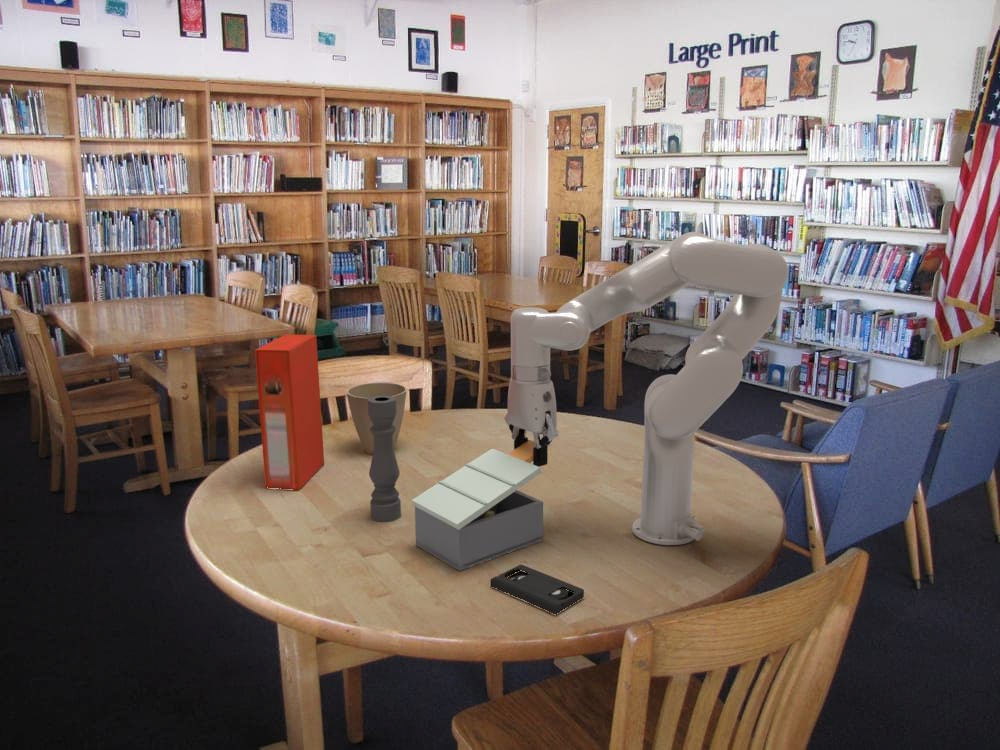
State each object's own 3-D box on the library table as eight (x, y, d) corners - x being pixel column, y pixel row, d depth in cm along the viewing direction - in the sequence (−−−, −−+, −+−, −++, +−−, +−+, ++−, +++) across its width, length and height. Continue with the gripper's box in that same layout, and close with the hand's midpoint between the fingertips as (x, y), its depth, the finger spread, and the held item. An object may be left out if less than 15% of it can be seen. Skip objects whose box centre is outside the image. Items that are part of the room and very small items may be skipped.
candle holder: (405, 511, 178) (402, 396, 172) (394, 523, 172) (390, 404, 166) (378, 508, 179) (373, 394, 173) (365, 520, 173) (361, 402, 167)
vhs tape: (584, 600, 142) (585, 589, 142) (555, 618, 136) (555, 607, 136) (520, 574, 152) (520, 563, 151) (490, 589, 146) (490, 579, 145)
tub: (542, 540, 164) (543, 501, 162) (459, 571, 151) (459, 529, 150) (497, 518, 174) (496, 481, 172) (415, 544, 162) (414, 505, 160)
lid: (563, 457, 163) (562, 450, 162) (459, 529, 149) (456, 522, 149) (515, 439, 174) (513, 433, 173) (413, 505, 160) (411, 498, 159)
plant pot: (355, 440, 224) (353, 382, 220) (412, 441, 223) (410, 382, 219) (343, 459, 209) (340, 397, 205) (403, 460, 209) (401, 397, 205)
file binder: (264, 489, 190) (254, 349, 182) (292, 463, 207) (284, 334, 199) (299, 491, 189) (290, 350, 181) (324, 464, 206) (317, 335, 198)
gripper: (575, 377, 159) (574, 469, 163) (517, 362, 172) (517, 447, 176) (545, 383, 154) (545, 478, 159) (487, 367, 167) (489, 455, 172)
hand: (530, 460), depth 167 cm, fingers closed on lid, 5 cm apart
